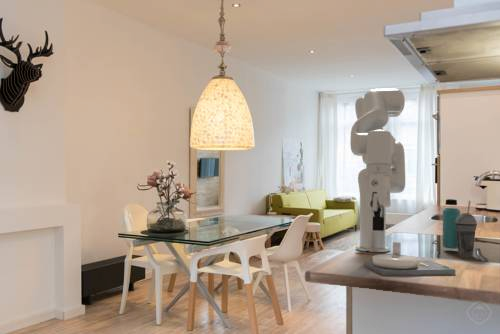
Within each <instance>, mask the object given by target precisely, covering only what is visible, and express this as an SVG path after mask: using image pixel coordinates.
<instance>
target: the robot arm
mask: <svg viewBox="0 0 500 334" xmlns="http://www.w3.org/2000/svg"><path fill="white" fill-rule="evenodd" d="M405 102H406V100H405V95H404V93H403V91H402V90H400V89H398V88H375V89H371V90H368V91H367V92H366V93H365V94H364V95H363V96H360V97H358V98H357V99H356V100H355V104H354V106H355V107H354V108H355V109H354V110H355V116H356V119H357V120H356V121H355V122H354V123H353V125H352V126H351V130H350V142H349V143H350V145H349V146H350V151H351V152H352V154H353V155H354V156H356V157H357V156H358V157H361V158H362V162H363V163H364V164H365V166H366V167H365V168H363V169H361V170H360V171H359V173H358V175H357V176H358V177H357V181H358V182H357V183H358V189H359V191H358V192H359V203H360V204H359V213H360V214H359V244H358V245H355V249H356V250H357V251H361V252H366V251H369V252H368V253H386V252H389V251H390V247H389V246H387V245H386V223H387V221H386V215H387V214H386V213H387V208H389V207H390V206H391V194H399V193H402V192H404V190H405V188H406V161H405V159H406V158H405V156H406V155H405V148H404V145H403V144H402V143H401V142H400V141H397V139H396V138H395V137H394V136H393V134H392V133H391V131H389V130H385V129H384V127H385V126H386V125H387V124H388V122H389V120H390V119H389V118H396V117H399V116H400V115H401V113H402V112H403V111H404V109H405Z"/></svg>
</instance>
